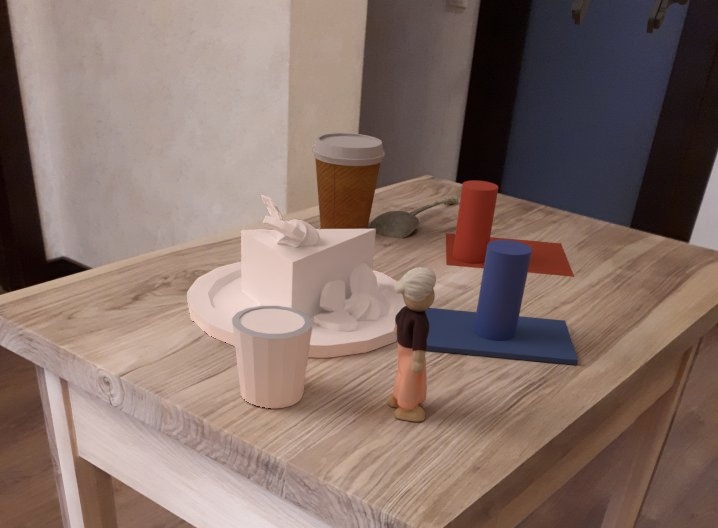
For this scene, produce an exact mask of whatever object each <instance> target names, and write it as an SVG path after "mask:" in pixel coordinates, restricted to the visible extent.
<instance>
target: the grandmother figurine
mask: <svg viewBox="0 0 718 528" xmlns="http://www.w3.org/2000/svg"><path fill="white" fill-rule="evenodd" d="M397 282H398V283H397V284H396V286H395V288H394V289H395V291H396V293H398V294H399V293H402V294H403V299H404V303H405V305H406V306H405V307H403V308H402V309H401V310H400V311H399V312H398V313H397V315H396V317H395V327H394V334H395V335H396V336H397V341H396V342H397V353H396V355H397V357H396V366H397V367H396V368H397V369H396V374H395V378H394V384H393V386H392V387H393V388H392V395H390V396H389V397H388V398H387V400H386V403H387V405H388V406H389V407H391V408H395V410H394V412H393V416H394V418H395V419H397V420H402V421H408V422H415V423H416V422H417V423H418V422H423V421H425V419H426V412H425V410H424V408H422V407H421V406H419V404H422V403H424V402H425V401H426V400H427V391H428V389H427V387H428V385H427V361H426V360H427V359H426V353H427V351H426V349H427V337H428V334H429V326H430V325H429V321H428V318H427V315H426V312H425V310H427V309H428V308H431V307H432V305H433V303H434V302H435V298H436V294H435V293H436V292H435V289H434V288H435V287H436V282H437V276H436V273H435V271H434V270H433V269H431V268H429V267H423V266H418V267H417V266H416V267H414V268H411V269H410V270H408V271H407V272H406V273H405V274H404V275H402V277H401V278H400V279H399V281H397Z"/></svg>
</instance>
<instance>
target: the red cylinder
mask: <svg viewBox="0 0 718 528" xmlns="http://www.w3.org/2000/svg"><path fill="white" fill-rule="evenodd" d="M498 193H499V185H497V184H496V183H493V182H490V181H485V180H467V181H463V182H462V184H461V192H460V198H459V199H460V200H459V206H458V213H457V220H456V227H455V233H454V234H455V241H454V248H453V255H452V256H453V258H454V259H456V260H458V261H461V262H465V263H482V262H484V261H485V257H486V251H487V245H488V243H489V241H490V237H491V235H492V228H493V222H494V217H495V212H496V211H495V210H496V205H497V198H498Z"/></svg>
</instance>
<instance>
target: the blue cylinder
mask: <svg viewBox="0 0 718 528" xmlns="http://www.w3.org/2000/svg"><path fill="white" fill-rule="evenodd" d="M531 254H532V248H531V247H530V246H528V245H526V244H523V243H520V242H516V241H510V240H496V241H492V242H489V243H488V245H487V251H486V257H485V263H484V268H482V269H483V270H482V274H481V275H482V276H481V282H480V288H479V294H478V300H477V305H476V311H475V312H476V317H475V323H474V332H475V333H476V334H477V335H479V336H481V337H483V338H486V339H491V340H509V339H511V338H513V337H514V336H515V333H516V328H517V323H518V318H519V316H520V313H521V309H522V304H523V300H524V299H523V297H524V294H525V293H524V292H525V288H526V284H527V283H526V282H527V278H528V274H529V273H528V269H529V264H530V259H531Z"/></svg>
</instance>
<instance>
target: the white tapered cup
mask: <svg viewBox="0 0 718 528" xmlns="http://www.w3.org/2000/svg"><path fill="white" fill-rule="evenodd" d="M232 324H233V332H234V341H235V346H234V348H235V356H236V366H237V373H238V382H239V383H238V384H239V392H240V397H241V396H242V397H241V399H243V400H244V399H245V400H244V401H245V402H246V401H247V402H249V403H251V404H250V405H252V404H254V405H256V406H260V407H259V408H262V407H265V408H264V409H268V408H271V409H284V408H287V407H291V406H294V405H295V404H297V403H298V402H301V399H302V397H303V396H304V390H305V384H306V383H305V382H306V375H307V369H308V368H307V367H308V361H309V357H308V355H309V347H310V340H311V333H312V326H313V324H312V321H311V318H310V317H309V316H307V315H306V314H305V313H303V312H301V311H298V310H295V309H293V308H288V307H282V306H257V307H252V308H247V309H244V310H242V311H240V312H238V313H236V314H235V316H234V317H233V318H232ZM247 402H246V403H247ZM249 403H248V404H249ZM254 405H253V406H254ZM256 406H255V407H256Z"/></svg>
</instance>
